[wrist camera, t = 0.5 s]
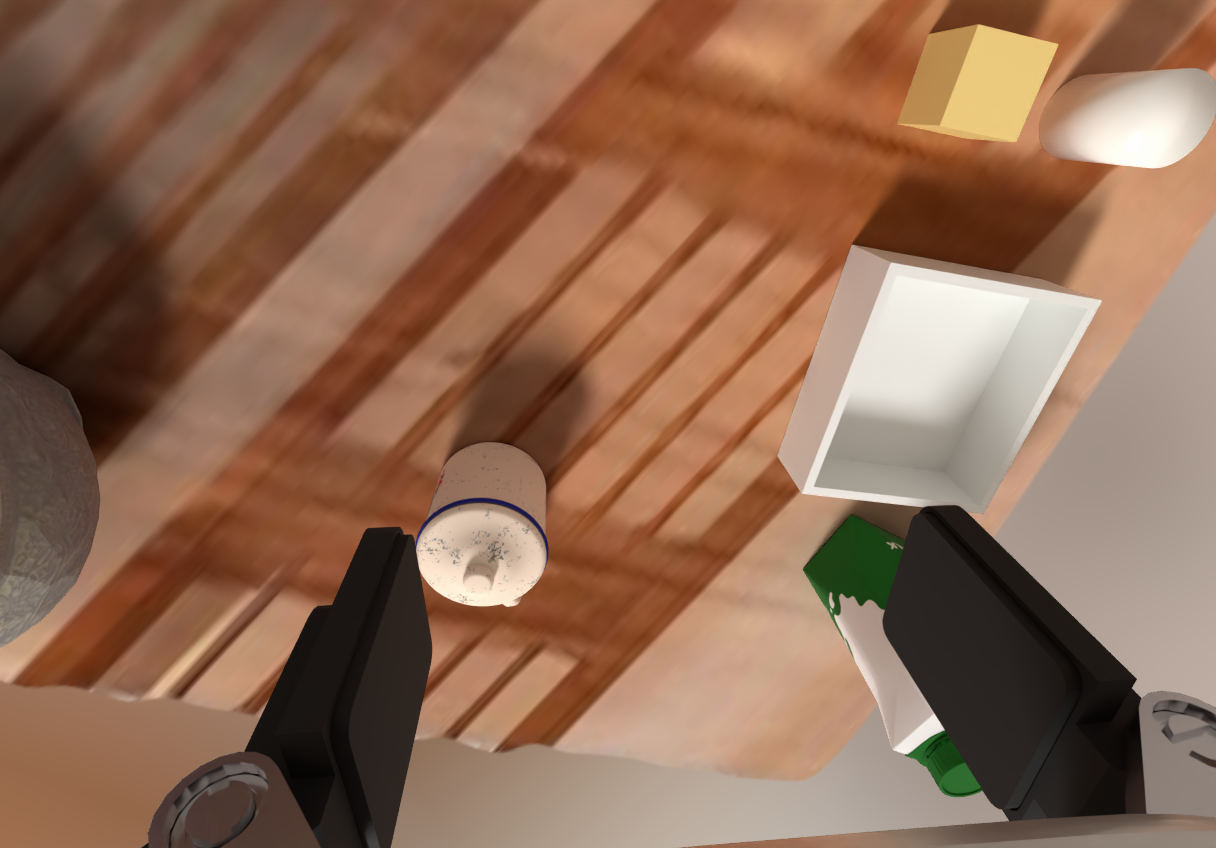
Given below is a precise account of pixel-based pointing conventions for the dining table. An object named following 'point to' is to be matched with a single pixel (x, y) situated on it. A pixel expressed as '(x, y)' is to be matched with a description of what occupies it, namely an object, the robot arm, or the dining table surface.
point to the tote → (928, 380)
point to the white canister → (1129, 117)
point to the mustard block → (976, 83)
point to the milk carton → (883, 645)
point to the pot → (41, 496)
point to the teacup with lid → (485, 527)
